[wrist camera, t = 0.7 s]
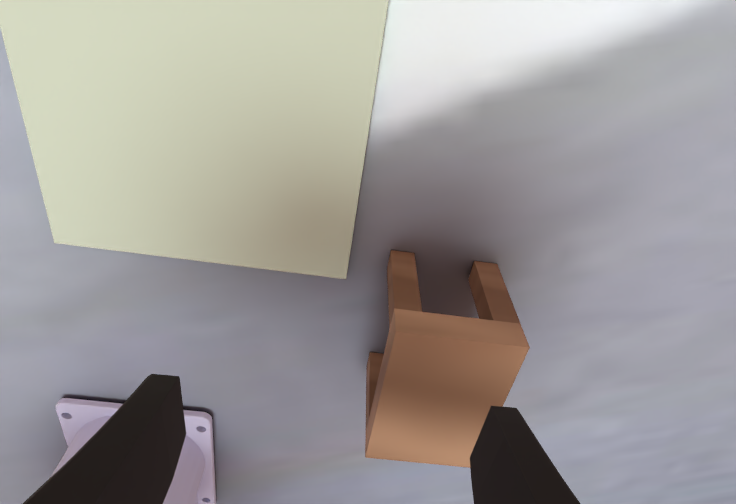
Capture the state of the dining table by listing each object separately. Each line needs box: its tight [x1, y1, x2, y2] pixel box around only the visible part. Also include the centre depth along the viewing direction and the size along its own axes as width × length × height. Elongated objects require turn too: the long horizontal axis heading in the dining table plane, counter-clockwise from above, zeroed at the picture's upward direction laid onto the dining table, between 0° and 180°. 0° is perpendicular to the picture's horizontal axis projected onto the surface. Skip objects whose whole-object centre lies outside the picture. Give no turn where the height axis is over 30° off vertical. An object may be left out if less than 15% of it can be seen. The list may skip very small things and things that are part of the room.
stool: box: [365, 250, 530, 467], centre depth 20 cm, size 7×5×5 cm, turn 172°
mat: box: [0, 0, 389, 279], centre depth 17 cm, size 12×12×1 cm
